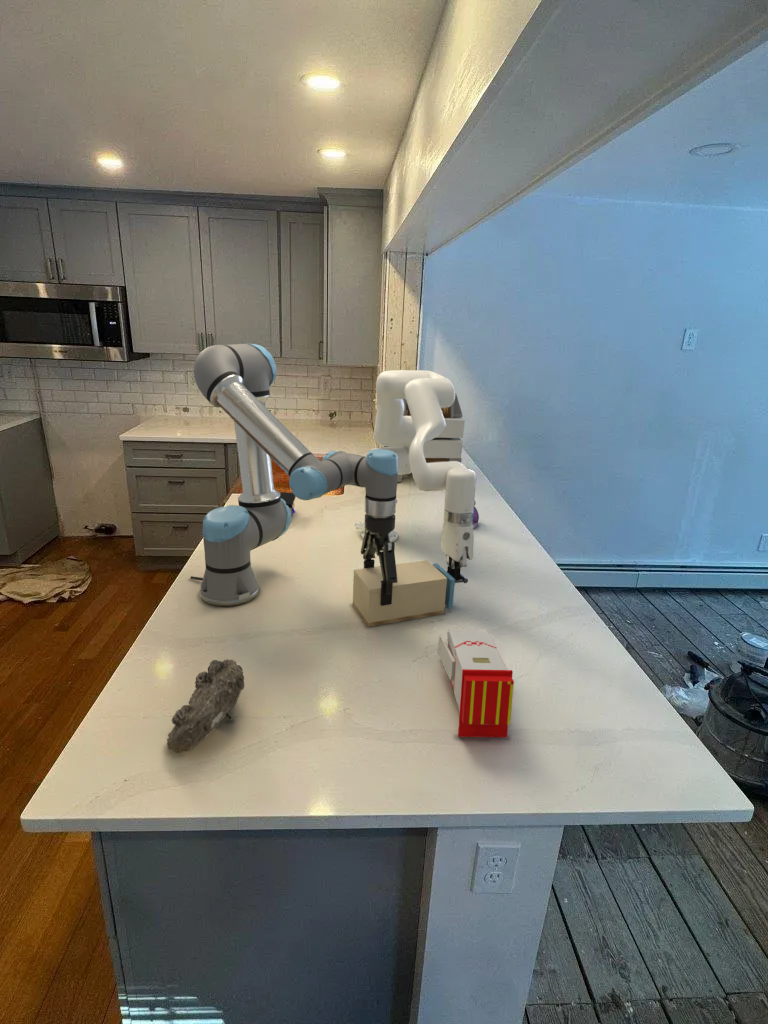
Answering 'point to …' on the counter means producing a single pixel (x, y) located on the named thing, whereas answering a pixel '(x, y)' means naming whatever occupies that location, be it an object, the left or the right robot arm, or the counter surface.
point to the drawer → (450, 585)
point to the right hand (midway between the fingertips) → (453, 579)
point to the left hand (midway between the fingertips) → (376, 593)
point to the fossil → (206, 705)
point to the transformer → (444, 437)
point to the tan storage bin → (400, 593)
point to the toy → (478, 682)
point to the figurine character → (289, 500)
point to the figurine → (475, 516)
